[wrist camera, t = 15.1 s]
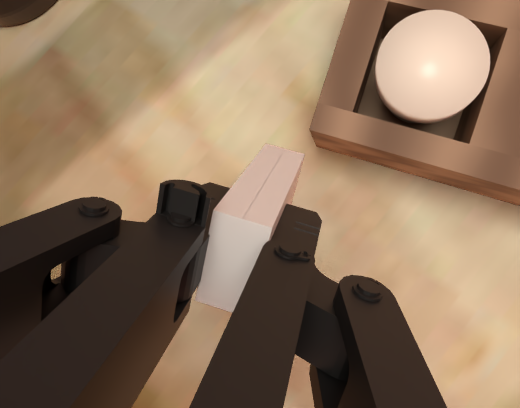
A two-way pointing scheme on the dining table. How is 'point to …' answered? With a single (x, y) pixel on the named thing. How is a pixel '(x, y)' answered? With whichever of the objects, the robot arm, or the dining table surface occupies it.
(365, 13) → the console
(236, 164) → the dining table surface
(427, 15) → the ivory button
